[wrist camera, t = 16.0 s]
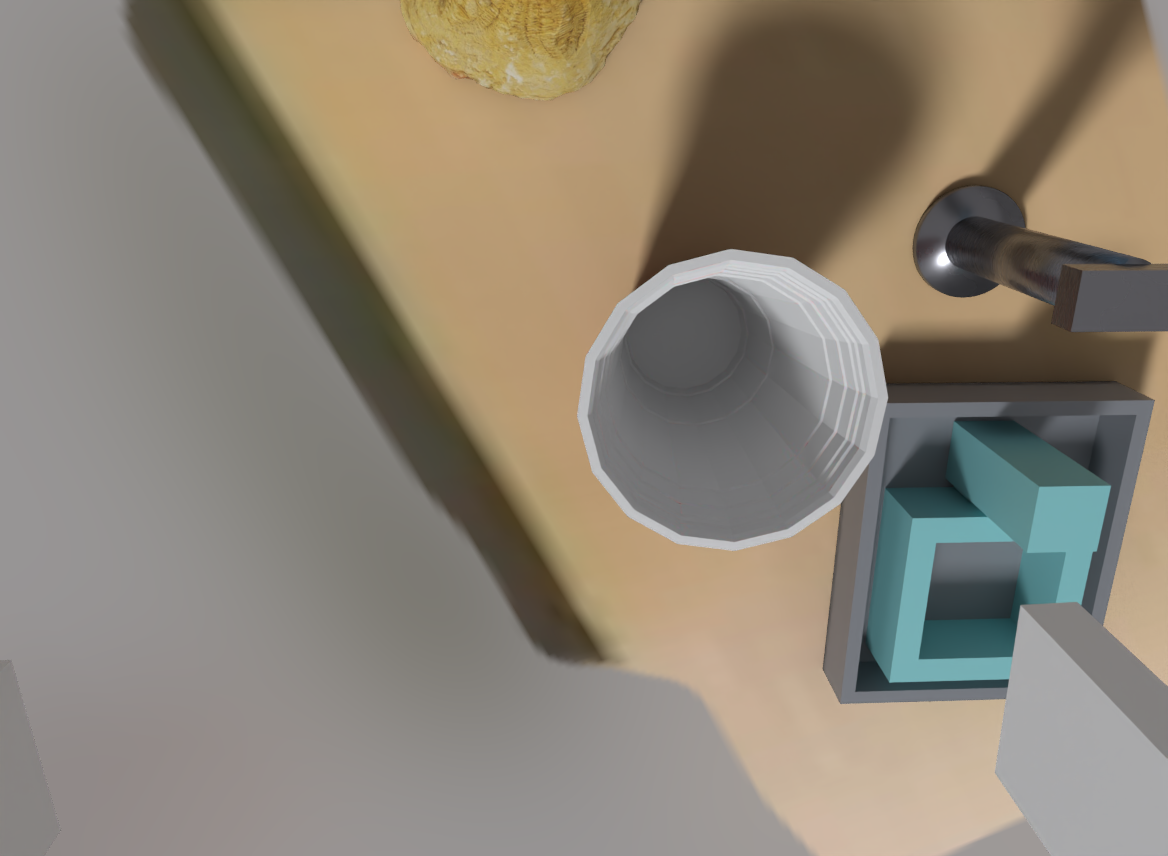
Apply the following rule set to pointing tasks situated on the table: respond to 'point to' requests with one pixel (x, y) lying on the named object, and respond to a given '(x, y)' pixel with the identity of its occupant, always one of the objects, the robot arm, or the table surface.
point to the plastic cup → (732, 400)
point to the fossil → (521, 40)
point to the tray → (973, 569)
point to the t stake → (1035, 265)
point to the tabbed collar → (981, 514)
